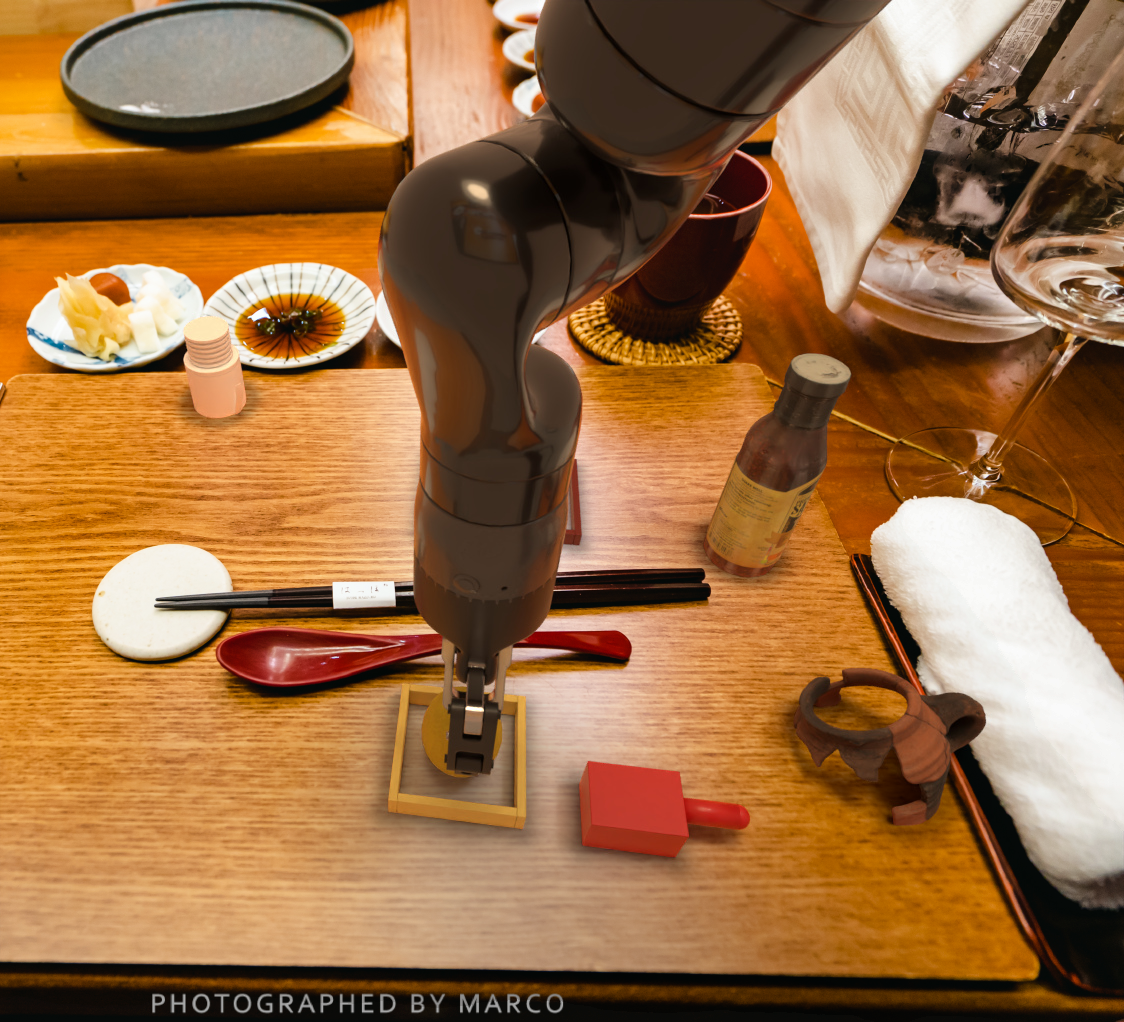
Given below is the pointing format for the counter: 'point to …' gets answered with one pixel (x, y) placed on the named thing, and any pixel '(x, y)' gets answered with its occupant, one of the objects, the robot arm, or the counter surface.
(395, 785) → the yellow square frame
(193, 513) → the counter surface
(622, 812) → the red peg block
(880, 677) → the broken clay pot
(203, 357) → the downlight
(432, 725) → the lemon
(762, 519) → the sauce bottle
